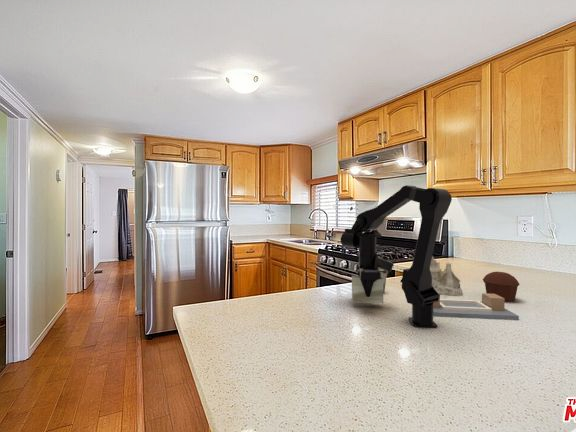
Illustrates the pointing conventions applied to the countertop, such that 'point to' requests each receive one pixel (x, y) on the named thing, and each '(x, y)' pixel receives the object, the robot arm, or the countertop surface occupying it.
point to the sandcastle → (444, 280)
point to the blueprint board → (474, 308)
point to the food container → (383, 275)
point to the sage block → (359, 292)
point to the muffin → (501, 285)
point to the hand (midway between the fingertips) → (367, 294)
